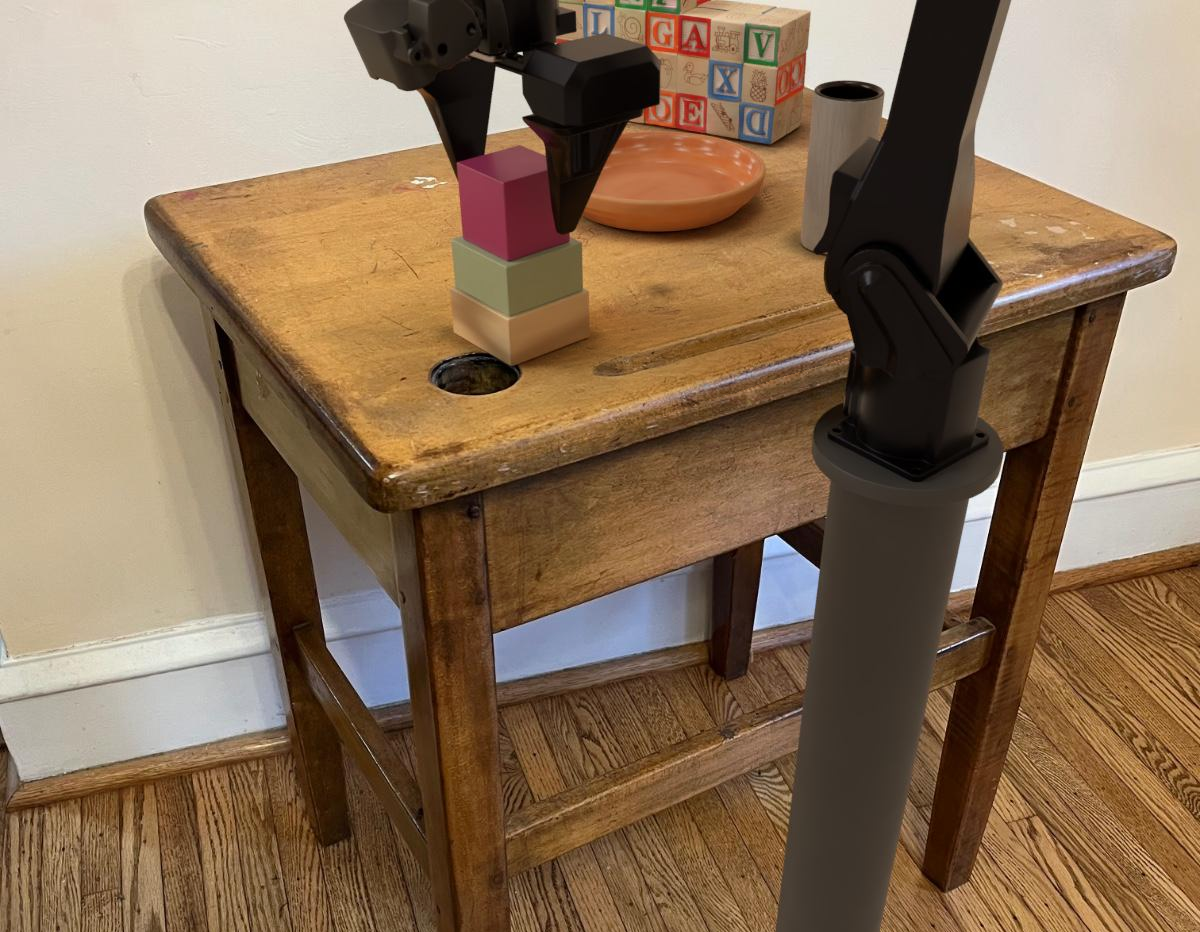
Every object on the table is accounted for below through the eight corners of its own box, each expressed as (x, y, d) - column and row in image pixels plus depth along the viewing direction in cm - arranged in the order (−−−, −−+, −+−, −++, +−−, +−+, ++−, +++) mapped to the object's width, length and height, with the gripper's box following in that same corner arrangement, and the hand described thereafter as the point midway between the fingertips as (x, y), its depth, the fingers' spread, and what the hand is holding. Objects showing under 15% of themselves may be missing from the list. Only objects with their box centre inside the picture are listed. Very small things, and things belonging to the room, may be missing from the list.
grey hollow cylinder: (875, 238, 87) (895, 86, 80) (849, 261, 84) (868, 104, 77) (816, 226, 89) (831, 76, 82) (789, 247, 86) (802, 93, 79)
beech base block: (590, 337, 75) (589, 290, 73) (511, 367, 72) (508, 320, 70) (530, 305, 79) (528, 260, 77) (453, 332, 76) (448, 287, 74)
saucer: (604, 155, 101) (604, 118, 99) (791, 183, 96) (794, 143, 94) (512, 223, 90) (510, 182, 88) (717, 258, 84) (720, 215, 83)
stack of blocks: (803, 126, 106) (816, -31, 99) (771, 147, 102) (783, -15, 95) (592, 91, 115) (590, -56, 108) (555, 109, 111) (550, -43, 104)
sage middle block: (583, 290, 74) (582, 242, 72) (509, 317, 71) (506, 267, 69) (527, 262, 77) (525, 215, 75) (454, 287, 74) (450, 238, 72)
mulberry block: (570, 241, 72) (568, 164, 69) (508, 262, 69) (503, 182, 67) (523, 220, 74) (519, 144, 72) (462, 239, 72) (455, 161, 69)
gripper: (262, -102, 63) (310, 200, 73) (473, -49, 51) (498, 301, 61) (443, -127, 68) (466, 157, 78) (671, -83, 57) (665, 243, 67)
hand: (515, 209), depth 71 cm, fingers open, 9 cm apart
